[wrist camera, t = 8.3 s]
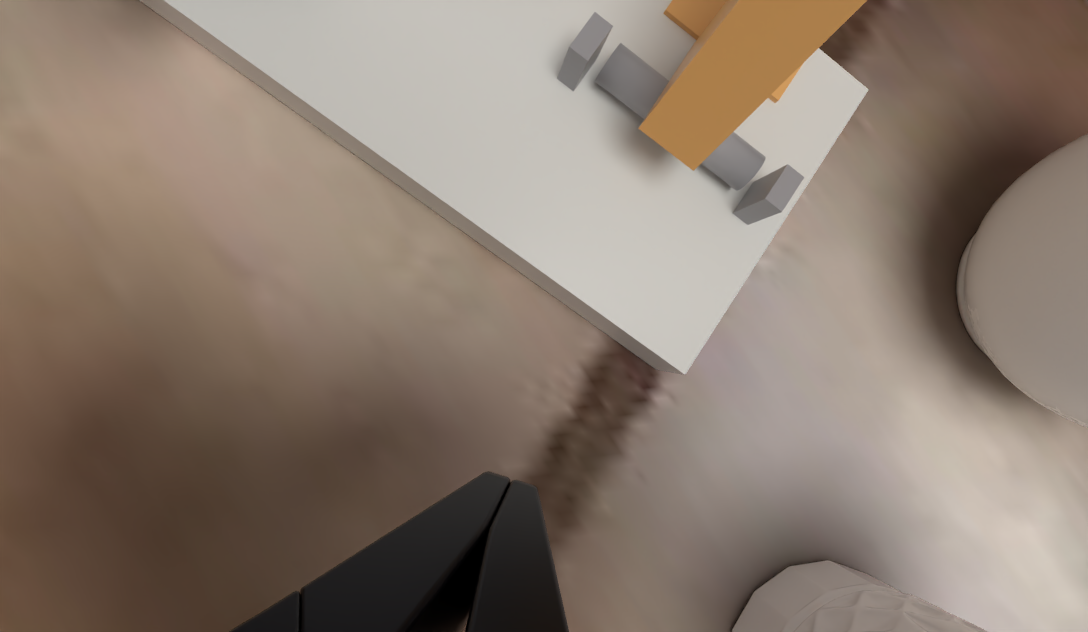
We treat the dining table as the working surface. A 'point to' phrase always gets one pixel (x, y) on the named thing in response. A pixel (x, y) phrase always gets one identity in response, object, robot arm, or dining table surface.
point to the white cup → (840, 604)
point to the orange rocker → (724, 79)
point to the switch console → (543, 140)
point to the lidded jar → (1035, 283)
